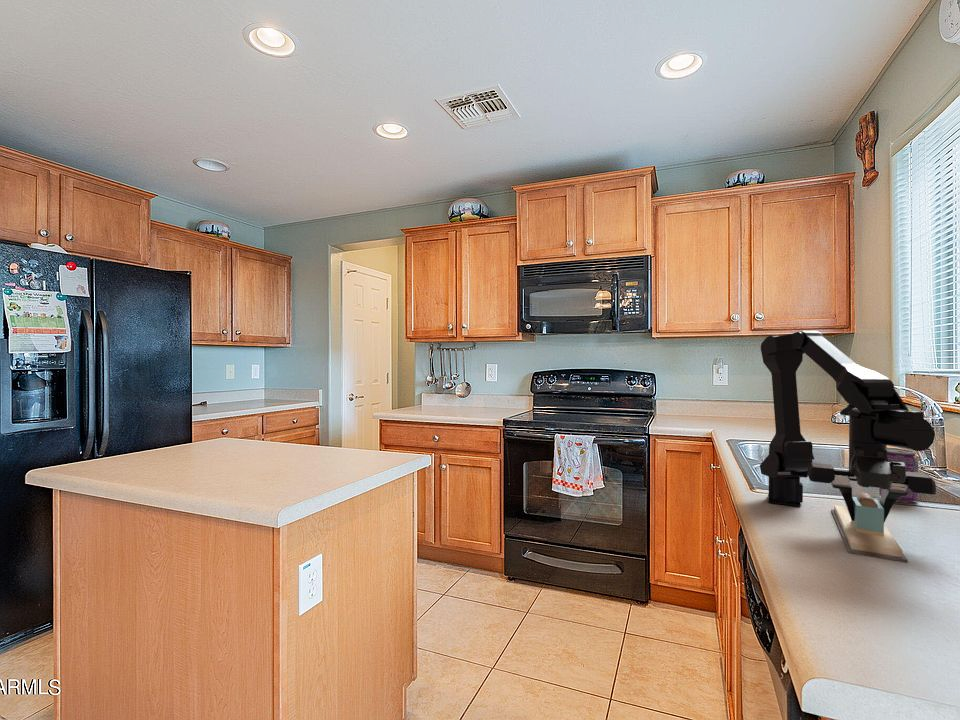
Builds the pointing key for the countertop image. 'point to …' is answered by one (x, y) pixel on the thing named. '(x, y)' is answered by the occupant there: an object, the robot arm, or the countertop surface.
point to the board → (866, 539)
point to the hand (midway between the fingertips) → (866, 522)
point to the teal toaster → (868, 515)
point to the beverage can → (911, 466)
